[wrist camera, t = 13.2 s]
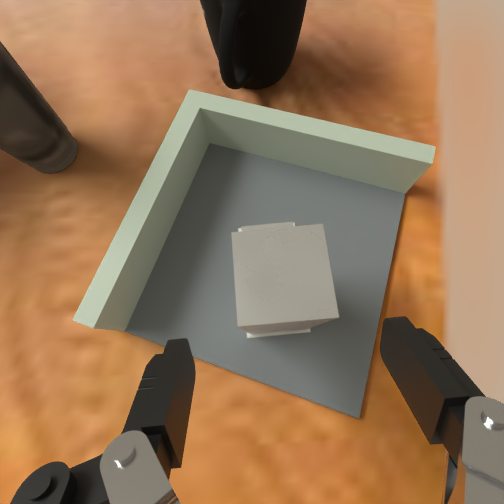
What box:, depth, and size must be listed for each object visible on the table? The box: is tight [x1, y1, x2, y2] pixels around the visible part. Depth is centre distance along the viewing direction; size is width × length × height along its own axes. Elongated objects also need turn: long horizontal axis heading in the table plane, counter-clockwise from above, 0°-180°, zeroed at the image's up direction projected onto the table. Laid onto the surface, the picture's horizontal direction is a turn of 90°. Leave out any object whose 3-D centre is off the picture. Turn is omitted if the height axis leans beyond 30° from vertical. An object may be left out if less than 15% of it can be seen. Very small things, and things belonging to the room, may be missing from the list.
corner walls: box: [73, 89, 436, 331], centre depth 21 cm, size 19×19×4 cm
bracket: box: [231, 222, 339, 334], centre depth 17 cm, size 8×4×10 cm, turn 5°
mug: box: [200, 0, 307, 89], centre depth 24 cm, size 12×9×10 cm
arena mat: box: [125, 143, 405, 419], centre depth 23 cm, size 19×19×1 cm
